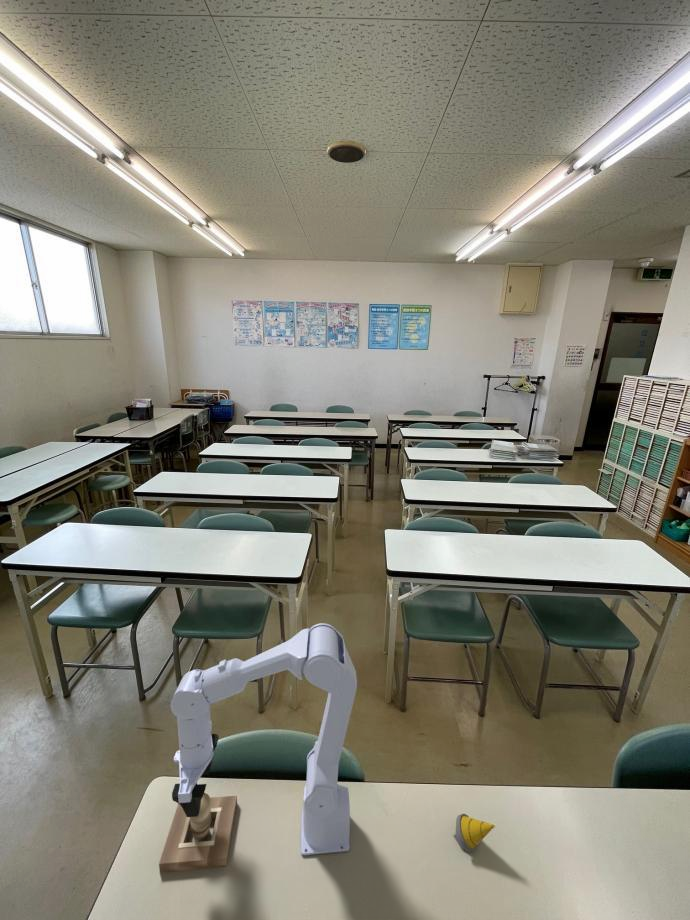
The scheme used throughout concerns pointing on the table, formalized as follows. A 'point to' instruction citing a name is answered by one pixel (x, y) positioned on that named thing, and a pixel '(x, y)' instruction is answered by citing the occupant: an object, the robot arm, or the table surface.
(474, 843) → the yellow striped cone
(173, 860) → the board
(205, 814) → the peg
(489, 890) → the table surface
